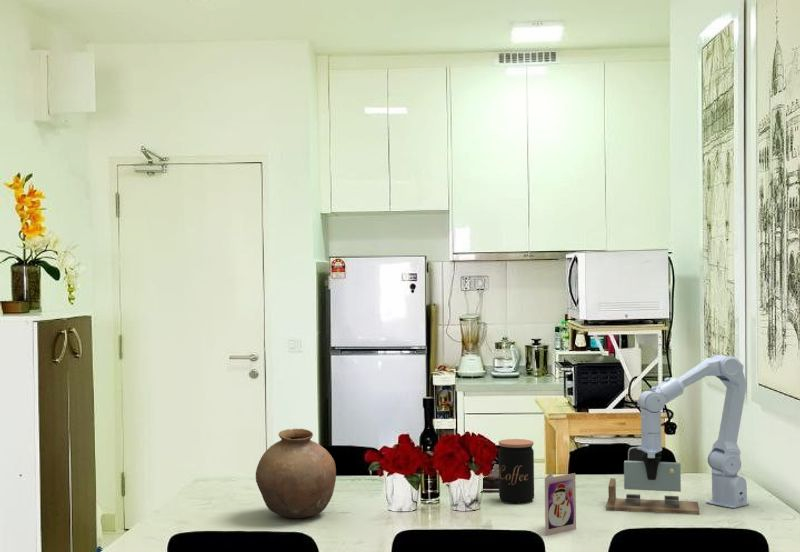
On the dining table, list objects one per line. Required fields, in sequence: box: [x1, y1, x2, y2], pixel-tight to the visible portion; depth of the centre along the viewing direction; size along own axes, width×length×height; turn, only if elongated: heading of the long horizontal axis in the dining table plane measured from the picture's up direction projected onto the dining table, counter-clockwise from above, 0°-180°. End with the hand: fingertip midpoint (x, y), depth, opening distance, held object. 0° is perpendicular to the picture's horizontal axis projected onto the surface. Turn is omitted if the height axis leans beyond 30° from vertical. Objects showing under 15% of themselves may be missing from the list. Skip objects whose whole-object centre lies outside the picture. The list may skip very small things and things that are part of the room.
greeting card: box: [544, 470, 577, 536], centre depth 265 cm, size 11×7×15 cm, turn 126°
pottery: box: [255, 428, 337, 519], centre depth 284 cm, size 23×23×25 cm
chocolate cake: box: [482, 463, 499, 493], centre depth 327 cm, size 28×28×7 cm
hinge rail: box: [605, 477, 700, 515], centre depth 289 cm, size 26×12×7 cm, turn 75°
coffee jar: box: [498, 438, 535, 505], centre depth 301 cm, size 11×11×18 cm
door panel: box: [623, 460, 682, 493], centre depth 289 cm, size 16×4×8 cm, turn 75°
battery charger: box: [627, 446, 646, 461], centre depth 328 cm, size 7×4×11 cm, turn 85°
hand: (651, 478), depth 289 cm, fingers closed on door panel, 2 cm apart
